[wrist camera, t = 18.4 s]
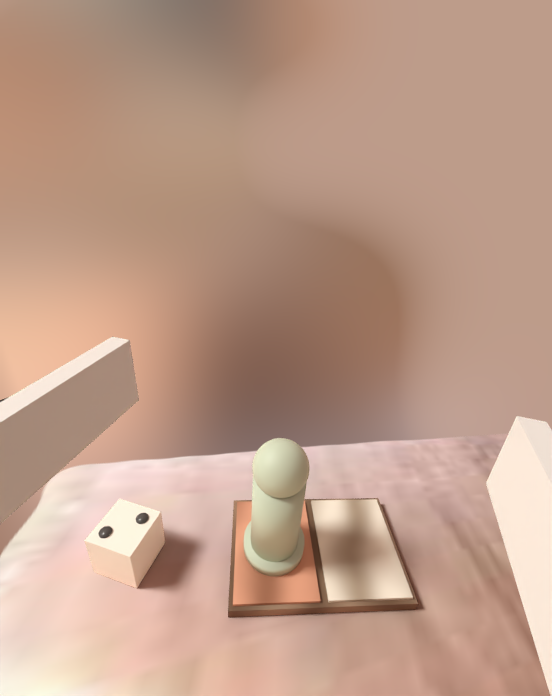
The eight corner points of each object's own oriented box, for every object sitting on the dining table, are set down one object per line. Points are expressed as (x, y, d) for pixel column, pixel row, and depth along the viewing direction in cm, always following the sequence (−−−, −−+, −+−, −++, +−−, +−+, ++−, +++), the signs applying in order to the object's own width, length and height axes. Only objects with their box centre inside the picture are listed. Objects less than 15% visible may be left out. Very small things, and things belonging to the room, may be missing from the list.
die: (165, 542, 39) (160, 510, 36) (136, 588, 34) (129, 556, 32) (126, 529, 40) (119, 497, 38) (94, 572, 36) (84, 539, 33)
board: (376, 503, 45) (378, 496, 44) (415, 609, 34) (418, 601, 34) (234, 506, 43) (233, 498, 43) (228, 617, 33) (228, 609, 32)
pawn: (315, 542, 38) (333, 445, 31) (277, 590, 34) (289, 489, 27) (270, 508, 42) (277, 413, 35) (230, 547, 37) (230, 447, 30)
